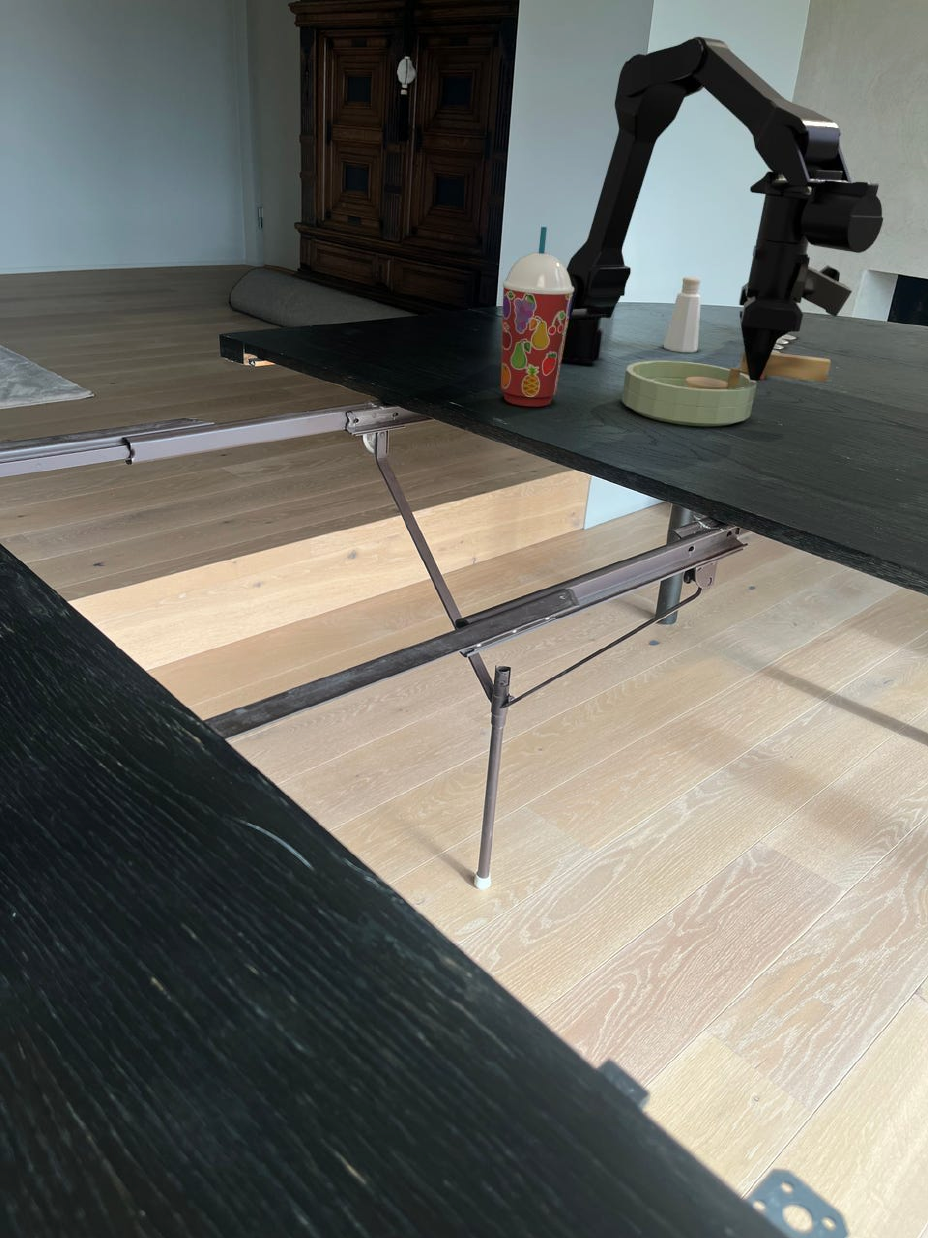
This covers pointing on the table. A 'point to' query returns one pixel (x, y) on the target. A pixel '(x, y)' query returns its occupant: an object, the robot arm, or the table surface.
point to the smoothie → (534, 327)
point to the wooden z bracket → (770, 370)
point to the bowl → (686, 394)
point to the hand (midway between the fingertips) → (753, 378)
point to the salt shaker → (685, 318)
